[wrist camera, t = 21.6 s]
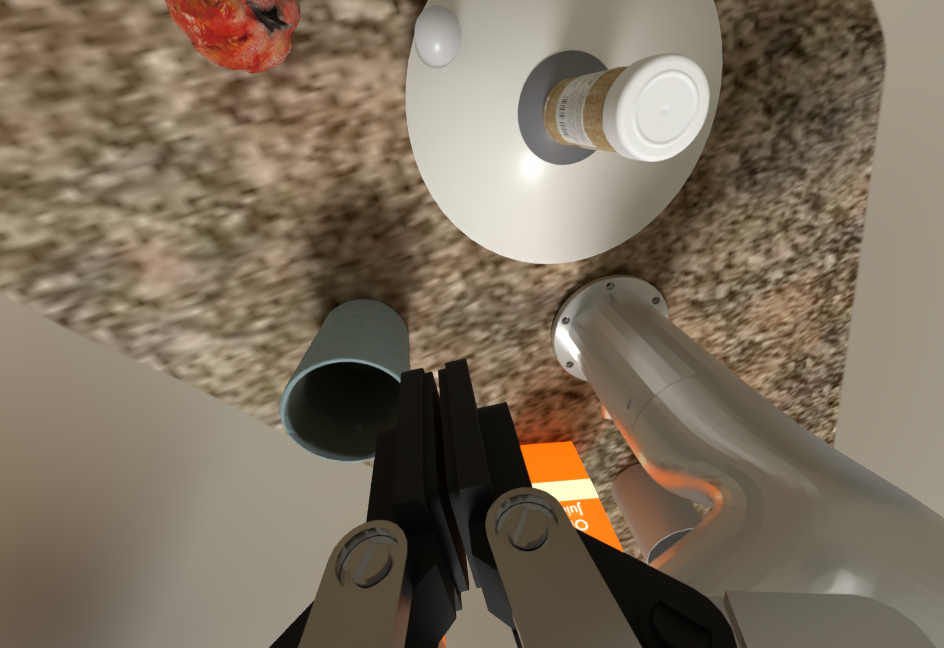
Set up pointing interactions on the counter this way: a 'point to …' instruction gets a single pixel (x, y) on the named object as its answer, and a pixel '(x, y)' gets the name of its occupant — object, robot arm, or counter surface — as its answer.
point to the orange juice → (569, 487)
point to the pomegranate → (238, 30)
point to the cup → (652, 511)
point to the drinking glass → (348, 382)
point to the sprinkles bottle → (632, 108)
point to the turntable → (521, 118)
